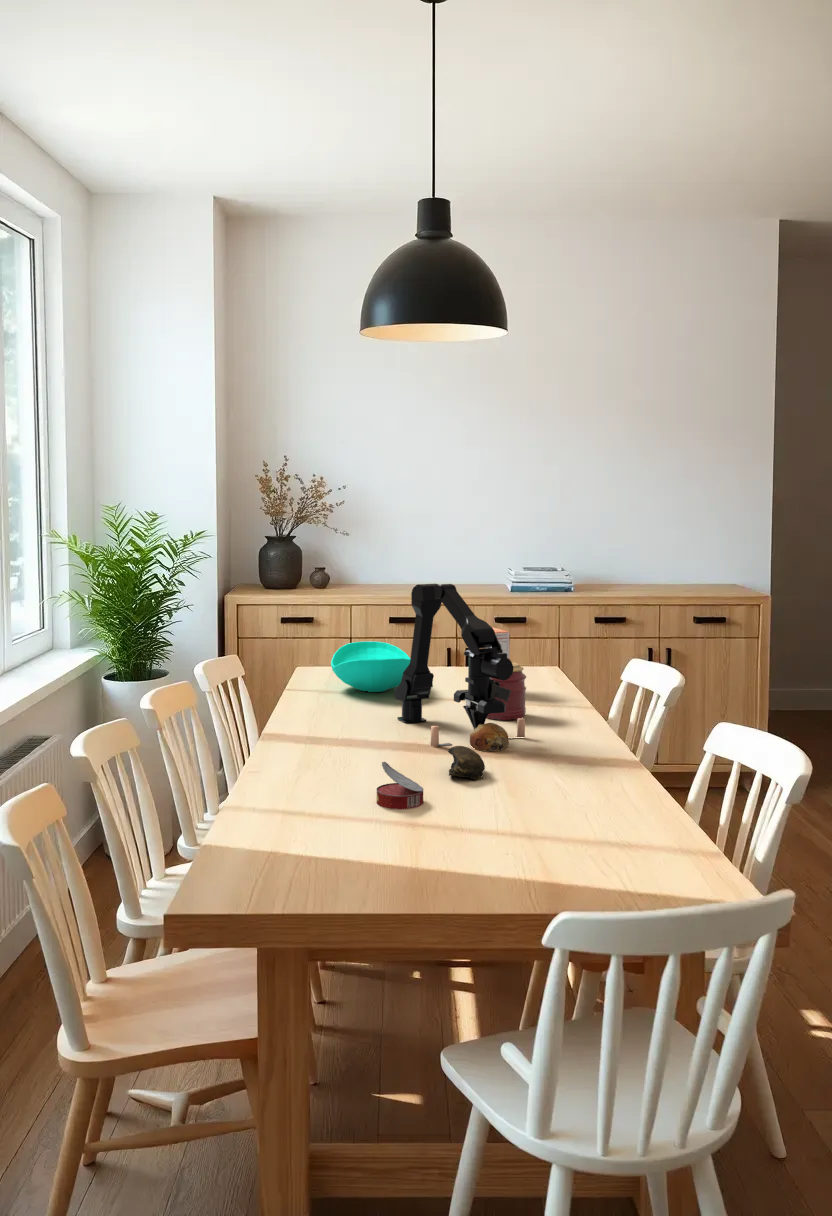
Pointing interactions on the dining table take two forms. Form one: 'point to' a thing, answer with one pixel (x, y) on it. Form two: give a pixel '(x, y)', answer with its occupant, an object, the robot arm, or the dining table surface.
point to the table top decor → (370, 665)
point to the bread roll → (489, 737)
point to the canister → (513, 695)
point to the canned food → (399, 791)
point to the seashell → (466, 763)
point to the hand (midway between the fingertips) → (478, 733)
